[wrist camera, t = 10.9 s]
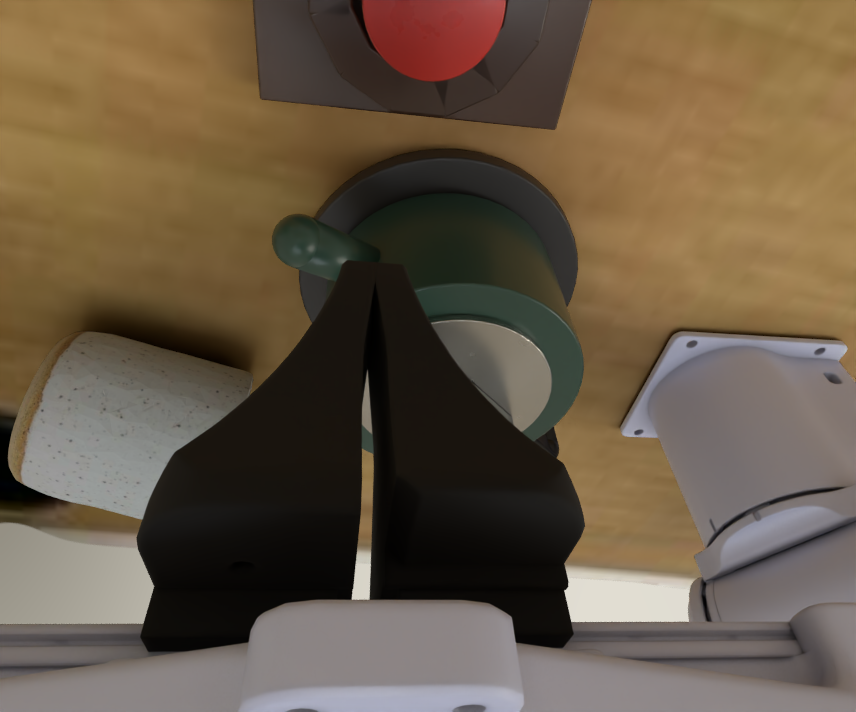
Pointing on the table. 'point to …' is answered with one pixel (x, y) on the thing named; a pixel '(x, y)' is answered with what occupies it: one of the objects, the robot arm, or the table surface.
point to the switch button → (433, 34)
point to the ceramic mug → (115, 418)
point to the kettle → (465, 297)
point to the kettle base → (447, 176)
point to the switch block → (397, 93)
